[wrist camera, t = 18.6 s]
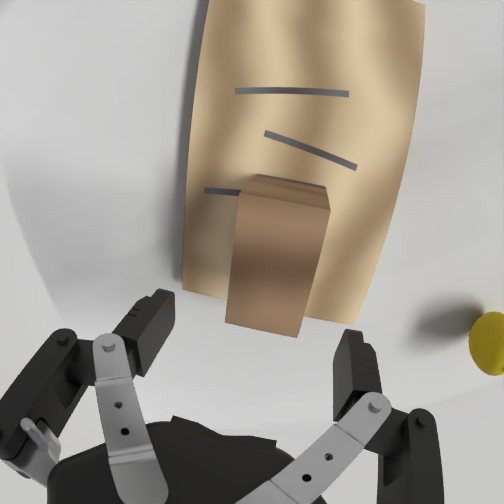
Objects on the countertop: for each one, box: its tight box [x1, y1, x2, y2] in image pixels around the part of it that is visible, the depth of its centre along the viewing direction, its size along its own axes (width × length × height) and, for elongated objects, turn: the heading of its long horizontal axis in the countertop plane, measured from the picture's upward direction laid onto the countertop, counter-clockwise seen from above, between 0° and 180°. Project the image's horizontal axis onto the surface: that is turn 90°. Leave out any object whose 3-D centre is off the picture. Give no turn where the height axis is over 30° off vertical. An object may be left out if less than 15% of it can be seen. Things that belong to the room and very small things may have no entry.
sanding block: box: [225, 174, 331, 338], centre depth 20 cm, size 9×5×6 cm, turn 172°
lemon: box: [469, 312, 504, 376], centre depth 21 cm, size 6×6×8 cm
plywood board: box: [182, 0, 425, 325], centre depth 21 cm, size 16×28×2 cm, turn 172°
